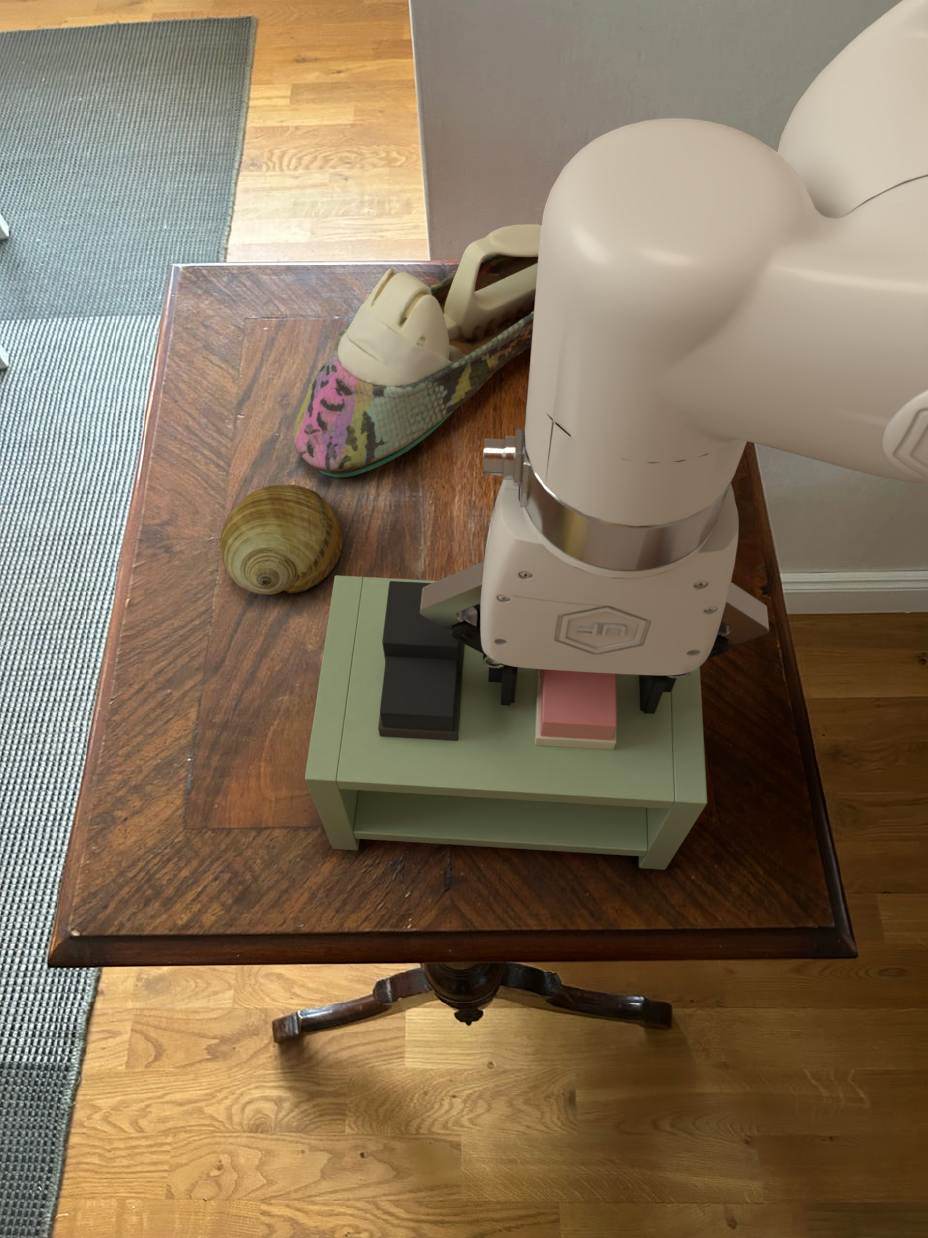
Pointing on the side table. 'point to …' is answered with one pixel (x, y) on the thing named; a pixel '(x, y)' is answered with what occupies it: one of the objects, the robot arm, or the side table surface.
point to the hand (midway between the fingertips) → (577, 682)
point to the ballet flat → (419, 354)
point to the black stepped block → (418, 671)
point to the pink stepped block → (576, 709)
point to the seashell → (281, 540)
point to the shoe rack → (495, 758)
